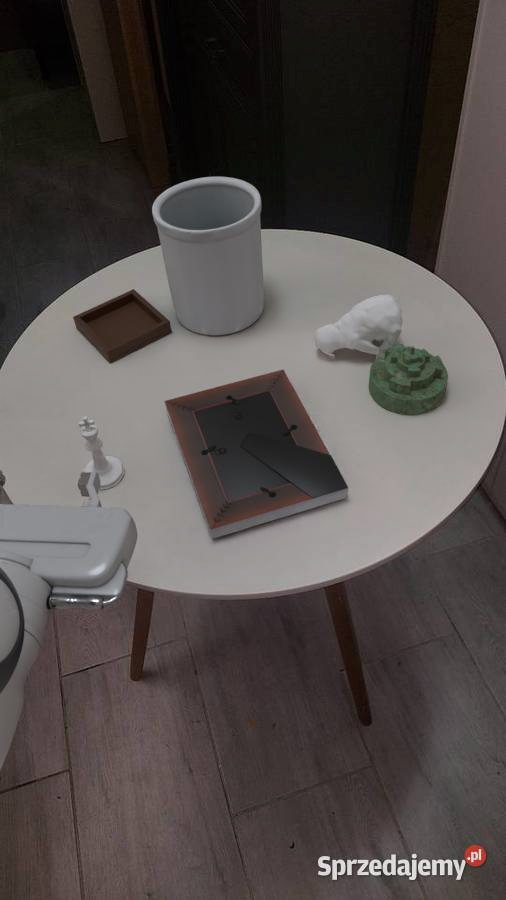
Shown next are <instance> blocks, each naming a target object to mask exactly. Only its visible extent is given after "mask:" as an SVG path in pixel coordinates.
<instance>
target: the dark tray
mask: <svg viewBox="0 0 506 900" xmlns="http://www.w3.org/2000/svg"><path fill="white" fill-rule="evenodd" d="M72 319H73V321H74V325H75V328H76V330H77V331H79V332H80V333H81V335H83V337H84V338H85V339H86V340H87V341H88V342H89V343H90V344H91V345H92V346H93V348H95V349H96V350H97V351H98V353H100V355H101V356H103V357H104V358H105V360H106V361H108V363H109V364H112V363H113V362H115V361H117V360H120V359H122V358H123V357H125V356H127V355H130V354H132V353H134V352H136V351H138V350H140V349H142V348H144V347H146V346H148V345H150V344H152V343H154V342H156V341H157V340H160V339H161V338H164V337H166V336H168V335H170V334H172V333H173V331H172V324H171V321H170V320H169V319H168V318H167V317H166V316H165V315H164V314H162V313H161V312H160V310H158V309H157V308H155V306H154V305H152V304H151V303H150V302H149V301H148V300H146V299H145V298H144V296H142V295H141V294H140V293H139V292H138V291H136V290H135V289H134V288H132V289H130V290H128V291H126V292H124V293H122V294H120V295H117V296H115V297H113V298H111V299H109V300H107V301H105V302H102V303H100V304H98V305H96V306H94V307H91V308H89V309H87V310H84V311H83V312H80V313H78V314H76V315H75V316H73V317H72Z"/></svg>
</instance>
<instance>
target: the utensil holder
mask: <svg viewBox="0 0 506 900" xmlns="http://www.w3.org/2000/svg"><path fill="white" fill-rule="evenodd" d="M261 212H262V197H261V194H260V192H259V190H258V189H257V188H256V187H255V186H254V185H253V184H251V183H249V182H247V181H245V180H243V179H239V178H235V177H228V176H205V177H204V176H203V177H199V178H194V179H189V180H186V181H182V182H180V183H177V184H174V185H173V186H171V187H169V188H167V189H166V190H164V191H163V192H162V193H160V194H159V195H158V196H157V197H156V199H155V200H154V201H153V204H152V206H151V213H152V219H153V221H154V224H155V226H156V228H157V234H158V238H159V243H160V248H161V253H162V258H163V264H164V268H165V269H164V270H165V273H166V277H167V283H168V287H169V292H170V295H171V300H172V304H173V309H174V312H175V316H176V318H177V320H178V321H179V323H180V324H181V325H182V326H183V327H184V328H185V329H187V330H189V331H191V332H194V333H196V334H199V335H205V336H225V335H230V334H234V333H238V332H240V331H242V330H244V329H246V328H248V327H250V326H251V325H253V324H254V323H256V321H257V320H259V318H260V316H261V315H262V313H263V311H264V305H265V295H264V293H265V292H264V291H265V290H264V265H263V249H262V247H263V245H262V243H263V242H262V227H261V225H262V224H261Z"/></svg>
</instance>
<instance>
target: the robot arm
mask: <svg viewBox="0 0 506 900" xmlns="http://www.w3.org/2000/svg"><path fill="white" fill-rule="evenodd" d="M79 476H80V478H79V479H78V481H77V487H78V490H79V491H80V492H79V493H80V495H81V497H84V498H85V497H86V498H85V499H84V500H83V502H82V505H81V506H79V505H76V506H75V505H73V506H72V505H47V504H45V505H44V504H43V505H42V504H14V503H13V504H12V503H11V504H10V503H0V771H2V768H3V765H4V763H5V761H6V758H7V755H8V753H9V751H10V748H11V745H12V743H13V740H14V736H15V733H16V731H17V730H16V729H17V727H18V725H19V724H18V723H19V720H20V717H21V714H22V710H23V708H24V702H25V684H26V679H27V676H28V674H29V672H30V669H32V667H33V665H34V664H35V662H36V660H37V658H38V656H39V654H40V651H41V648H42V644H43V641H44V638H45V634H46V631H47V627H48V625H49V622H50V618H51V614H52V611H53V609H54V610H74V609H75V610H76V609H83V610H84V609H85V610H86V611H100V610H103V609H104V607H106V606H109V605H112V604H114V603H115V602H117V601H118V600H120V599H121V598H122V597H123V595H124V593H125V589H126V586H127V581H128V576H129V571H128V568H129V565H130V563H131V561H132V558H133V555H134V551H135V548H136V545H137V542H138V536H139V535H138V529H137V526H136V522H135V520H134V518H133V516H132V514H131V513H130V512H129V511H128V509H126V508H124V507H112V506H111V507H108V506H102V503H101V500H100V498H99V495H98V494H99V491H100V490H99V488H100V478H99V475H98V473H97V472H84V471H82V472H80V475H79ZM6 479H7V478H6V476H5V474H4V471H2V470H1V469H0V495H1V494H2V492H3V490H4V488H3V487H4V486H5V485H6ZM89 497H90V498H89Z"/></svg>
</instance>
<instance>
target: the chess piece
mask: <svg viewBox="0 0 506 900" xmlns="http://www.w3.org/2000/svg"><path fill="white" fill-rule="evenodd" d="M95 423H96V422H95V420H94V419H89V418H88V415H87V416H86V415H85V416H82V420H80V421H78V426H79V428H81V429H80V430H79V431H80V435H81V436H82V437H83V438H84V439H85V440H86V441H85V442H84V448H85V449H86V450H87V451H89V452H91V455H92V460H91V461H89V462H88V463H87V465H85V468H84V470H83V472H97V473H98V475H99V478H100V488H99V491H100V490H107V489H111V488H113V487H115V486H116V485H118V484H119V483H120V482H122V481H121V480H122V479H123V478H124V475H125V467H124V465H123V463H122V462H121V461H120V459H118V458H117V457H114V456H111V455H104V452H103V451H102V449H101V448H102V447H103V445H104V441H103V439H102V438H101V437H100V436H98V434H99V428H98V426H97V425H96V424H95Z"/></svg>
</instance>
